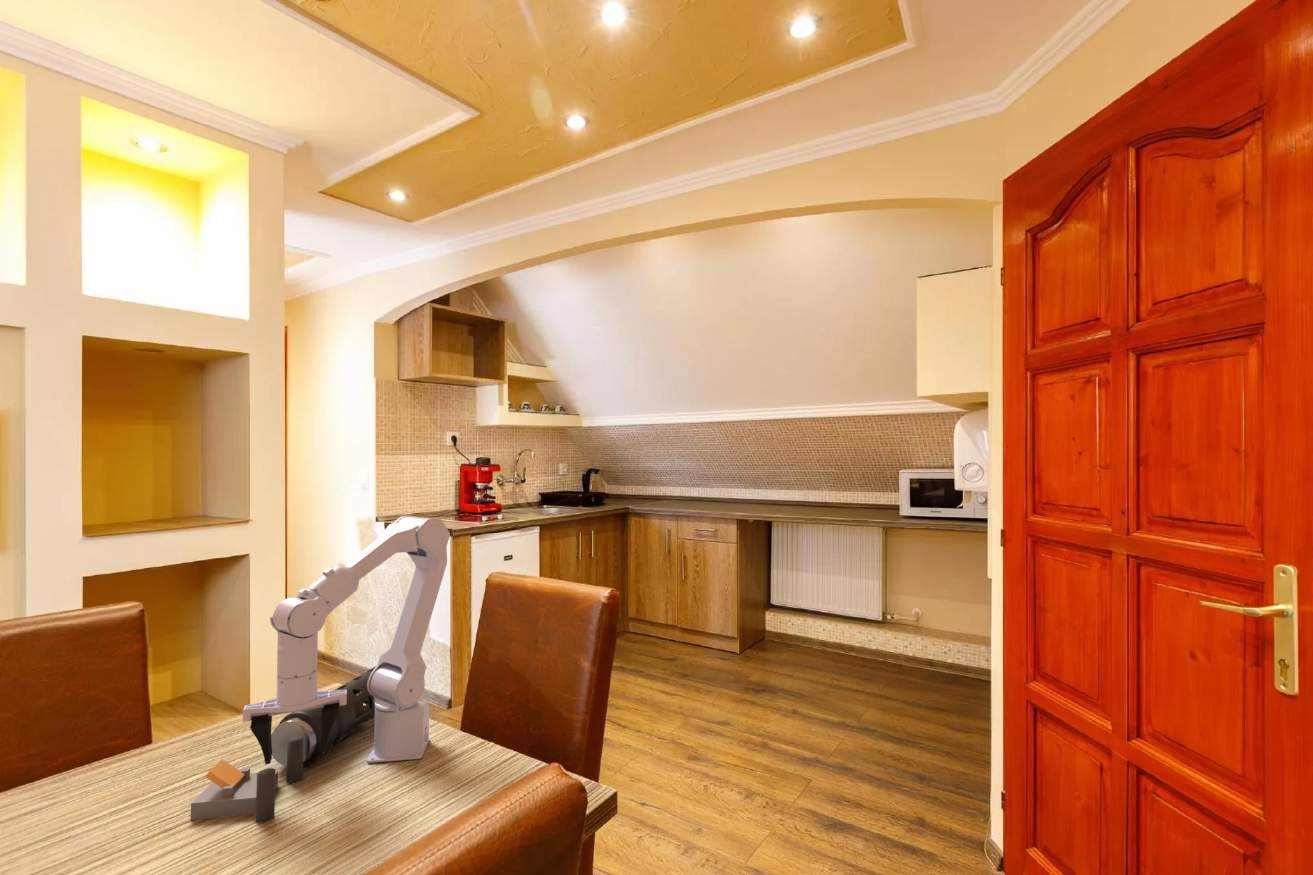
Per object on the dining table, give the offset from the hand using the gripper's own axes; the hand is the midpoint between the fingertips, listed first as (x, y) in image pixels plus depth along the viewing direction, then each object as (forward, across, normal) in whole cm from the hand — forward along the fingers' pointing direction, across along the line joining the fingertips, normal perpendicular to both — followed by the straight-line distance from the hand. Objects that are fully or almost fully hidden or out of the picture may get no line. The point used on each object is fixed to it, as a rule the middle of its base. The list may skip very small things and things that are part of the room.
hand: (296, 755), depth 98 cm
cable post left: (+7, +4, +5) cm, 9 cm away
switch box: (+6, +8, -2) cm, 11 cm away
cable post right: (+7, +1, -6) cm, 9 cm away
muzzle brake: (+3, -2, -24) cm, 24 cm away
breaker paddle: (+3, +8, -2) cm, 9 cm away
